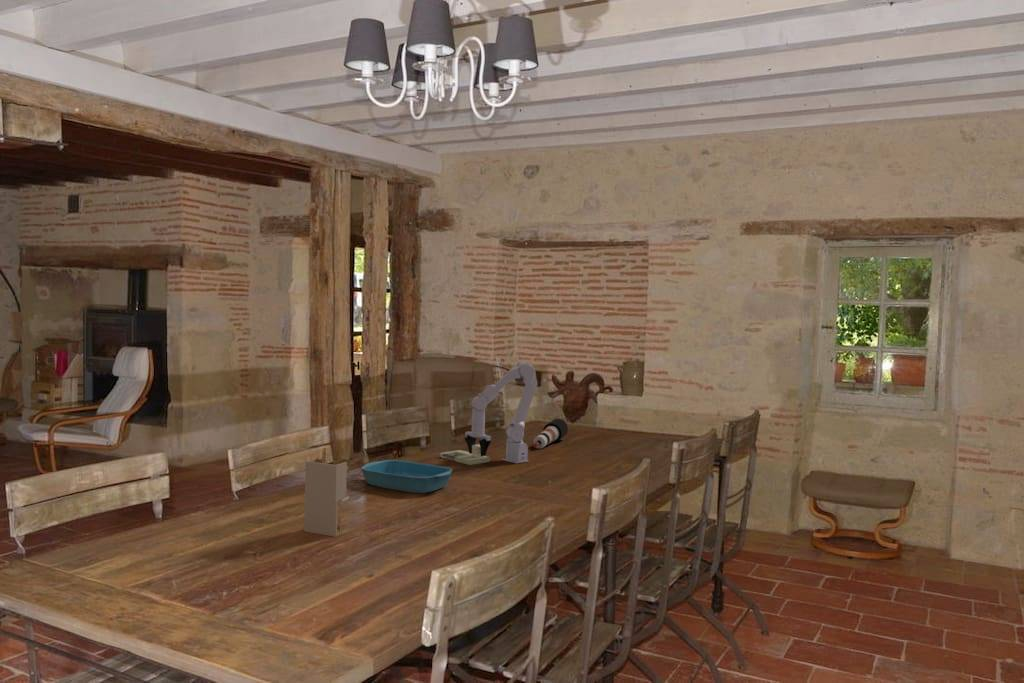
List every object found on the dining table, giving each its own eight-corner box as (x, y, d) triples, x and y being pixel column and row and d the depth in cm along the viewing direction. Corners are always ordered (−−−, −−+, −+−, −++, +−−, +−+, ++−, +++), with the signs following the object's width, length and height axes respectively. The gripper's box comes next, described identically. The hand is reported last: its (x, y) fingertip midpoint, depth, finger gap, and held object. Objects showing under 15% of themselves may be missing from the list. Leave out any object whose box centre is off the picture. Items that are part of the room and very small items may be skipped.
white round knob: (485, 457, 356) (485, 445, 356) (476, 458, 353) (477, 446, 353) (477, 455, 360) (478, 444, 360) (469, 456, 356) (469, 445, 356)
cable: (531, 458, 388) (521, 439, 389) (554, 440, 420) (546, 422, 420) (548, 451, 384) (539, 432, 385) (571, 433, 416) (562, 415, 416)
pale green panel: (490, 461, 356) (490, 457, 356) (469, 465, 348) (469, 460, 348) (460, 454, 371) (460, 450, 370) (439, 457, 362) (440, 453, 362)
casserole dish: (349, 484, 307) (350, 465, 307) (386, 474, 326) (386, 456, 326) (429, 499, 289) (429, 479, 289) (463, 487, 308) (463, 468, 308)
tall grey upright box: (336, 538, 240) (337, 453, 239) (304, 532, 245) (305, 449, 243) (351, 531, 247) (352, 448, 246) (319, 526, 252) (321, 445, 251)
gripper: (460, 422, 358) (459, 453, 359) (482, 427, 348) (481, 458, 348) (472, 421, 363) (471, 451, 364) (494, 425, 353) (493, 456, 353)
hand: (477, 454), depth 356 cm, fingers open, 7 cm apart
